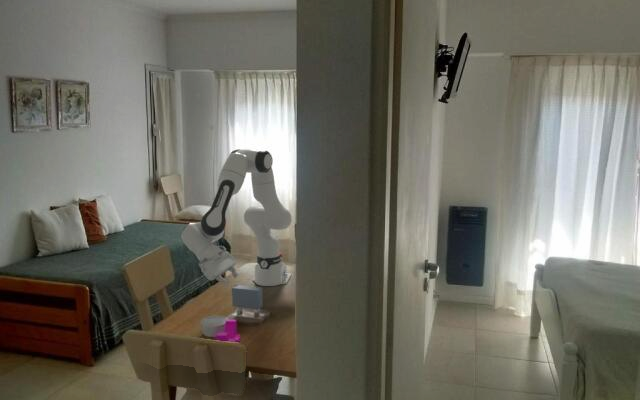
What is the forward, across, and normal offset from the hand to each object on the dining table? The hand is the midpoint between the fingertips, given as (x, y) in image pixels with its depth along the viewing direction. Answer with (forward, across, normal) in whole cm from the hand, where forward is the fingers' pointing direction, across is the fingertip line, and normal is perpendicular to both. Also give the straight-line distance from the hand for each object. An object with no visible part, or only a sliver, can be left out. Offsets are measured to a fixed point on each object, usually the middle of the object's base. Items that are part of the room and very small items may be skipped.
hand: (231, 279), depth 223 cm
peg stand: (+17, 0, +6) cm, 18 cm away
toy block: (+20, -26, +3) cm, 33 cm away
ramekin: (+12, -17, +11) cm, 24 cm away
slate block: (+12, 0, +3) cm, 13 cm away
